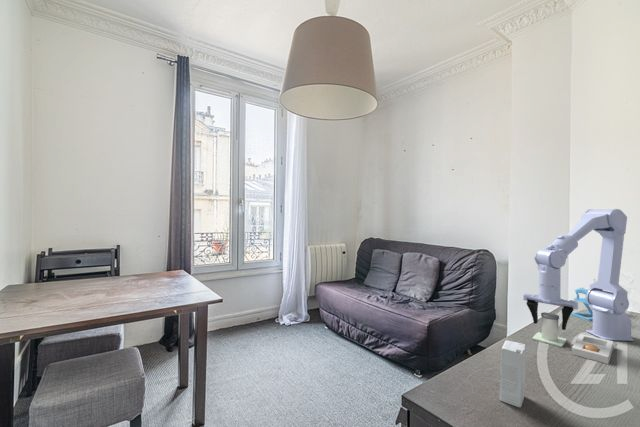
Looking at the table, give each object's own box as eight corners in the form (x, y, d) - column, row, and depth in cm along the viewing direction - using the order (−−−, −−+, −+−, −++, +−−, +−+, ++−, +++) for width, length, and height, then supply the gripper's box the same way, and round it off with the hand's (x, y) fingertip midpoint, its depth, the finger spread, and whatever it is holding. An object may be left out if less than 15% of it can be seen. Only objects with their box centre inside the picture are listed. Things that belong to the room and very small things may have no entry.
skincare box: (503, 389, 73) (504, 338, 73) (526, 396, 70) (526, 343, 70) (498, 401, 68) (499, 347, 68) (522, 409, 65) (523, 353, 65)
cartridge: (552, 336, 104) (552, 312, 104) (562, 342, 99) (562, 317, 99) (537, 335, 104) (538, 312, 104) (546, 341, 100) (546, 316, 100)
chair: (606, 320, 122) (607, 290, 122) (589, 321, 120) (589, 291, 120) (587, 313, 129) (587, 285, 129) (570, 314, 128) (570, 286, 128)
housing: (580, 339, 102) (580, 333, 102) (613, 347, 96) (613, 341, 96) (571, 354, 91) (571, 347, 91) (608, 364, 86) (608, 357, 86)
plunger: (585, 350, 93) (585, 343, 93) (597, 353, 91) (598, 346, 91) (584, 353, 91) (584, 345, 91) (596, 356, 89) (596, 348, 89)
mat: (537, 333, 108) (537, 331, 108) (566, 340, 102) (566, 338, 102) (531, 339, 102) (531, 338, 102) (561, 347, 96) (561, 345, 96)
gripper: (520, 283, 105) (520, 322, 105) (575, 291, 94) (575, 335, 94) (526, 280, 109) (526, 318, 109) (579, 287, 99) (579, 329, 99)
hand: (549, 325), depth 102 cm, fingers open, 7 cm apart
